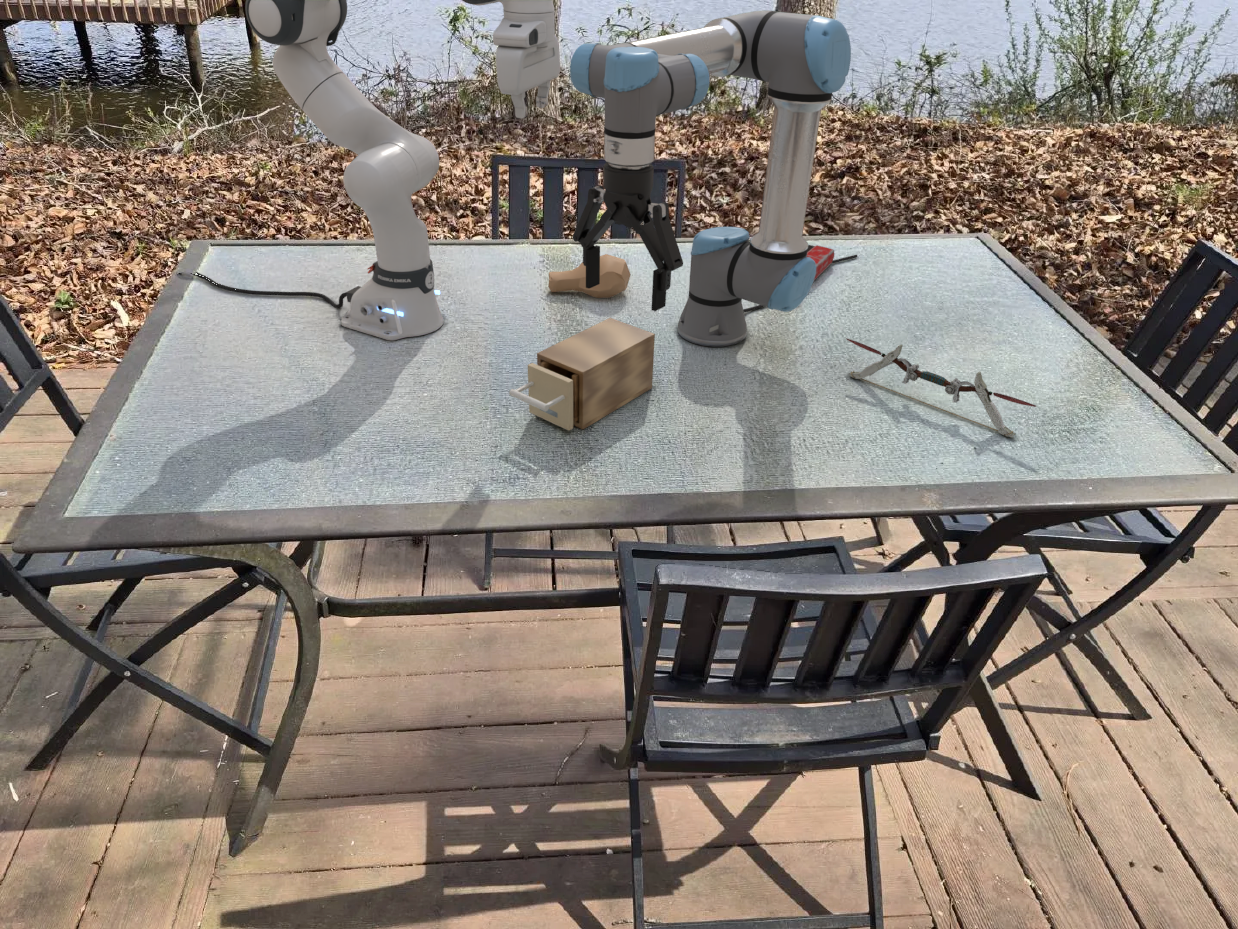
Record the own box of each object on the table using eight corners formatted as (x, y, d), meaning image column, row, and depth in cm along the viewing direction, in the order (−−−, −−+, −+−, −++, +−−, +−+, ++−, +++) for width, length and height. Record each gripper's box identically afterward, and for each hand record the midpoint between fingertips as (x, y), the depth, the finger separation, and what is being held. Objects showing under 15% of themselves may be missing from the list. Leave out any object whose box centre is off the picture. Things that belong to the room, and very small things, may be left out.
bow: (1027, 440, 160) (1043, 392, 155) (1023, 443, 159) (1039, 395, 154) (842, 370, 182) (850, 325, 176) (837, 372, 181) (846, 328, 175)
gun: (721, 268, 215) (795, 287, 208) (770, 231, 237) (839, 247, 230) (719, 285, 218) (792, 305, 210) (768, 247, 240) (836, 264, 232)
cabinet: (582, 429, 160) (583, 372, 153) (538, 409, 166) (536, 353, 159) (652, 388, 174) (655, 333, 167) (608, 370, 179) (610, 317, 173)
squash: (632, 302, 209) (628, 269, 203) (549, 309, 210) (543, 277, 204) (632, 277, 217) (628, 245, 210) (552, 285, 218) (546, 253, 212)
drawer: (548, 443, 154) (546, 394, 148) (508, 424, 159) (505, 375, 154) (636, 391, 170) (638, 344, 165) (597, 375, 176) (598, 329, 170)
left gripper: (536, 20, 163) (538, 99, 170) (488, 35, 146) (492, 121, 154) (568, 22, 161) (568, 102, 169) (522, 37, 145) (525, 125, 153)
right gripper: (549, 152, 134) (552, 283, 146) (682, 185, 121) (673, 325, 133) (581, 143, 139) (581, 270, 151) (712, 173, 126) (701, 310, 138)
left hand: (531, 111), depth 161 cm, fingers open, 8 cm apart
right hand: (624, 296), depth 142 cm, fingers open, 13 cm apart
